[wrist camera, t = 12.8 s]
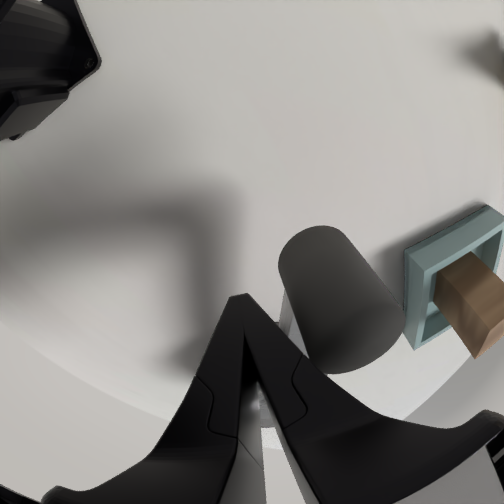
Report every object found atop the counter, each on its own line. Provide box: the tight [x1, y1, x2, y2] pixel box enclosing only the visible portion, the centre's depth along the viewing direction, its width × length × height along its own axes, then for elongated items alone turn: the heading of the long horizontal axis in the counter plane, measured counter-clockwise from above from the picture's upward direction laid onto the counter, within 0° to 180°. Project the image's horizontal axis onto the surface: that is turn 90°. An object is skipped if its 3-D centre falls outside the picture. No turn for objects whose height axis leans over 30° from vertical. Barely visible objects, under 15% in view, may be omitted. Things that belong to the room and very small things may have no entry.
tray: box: [402, 205, 504, 350], centre depth 18 cm, size 10×10×2 cm
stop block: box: [433, 251, 504, 359], centre depth 15 cm, size 4×4×7 cm
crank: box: [257, 226, 406, 428], centre depth 12 cm, size 16×5×5 cm, turn 177°
